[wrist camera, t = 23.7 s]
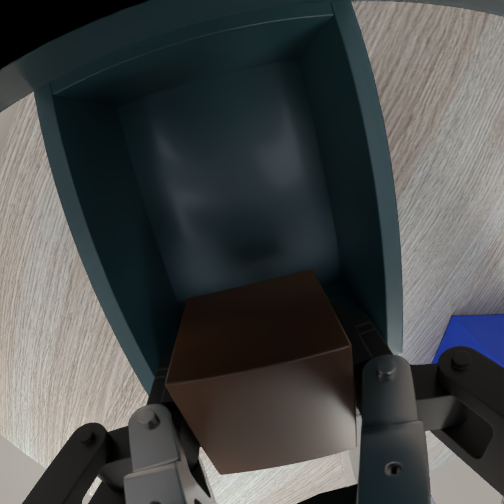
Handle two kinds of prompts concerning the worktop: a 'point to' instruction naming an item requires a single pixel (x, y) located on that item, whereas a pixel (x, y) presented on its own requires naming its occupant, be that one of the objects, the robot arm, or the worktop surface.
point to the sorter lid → (113, 31)
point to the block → (265, 374)
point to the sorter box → (227, 170)
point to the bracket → (476, 335)
